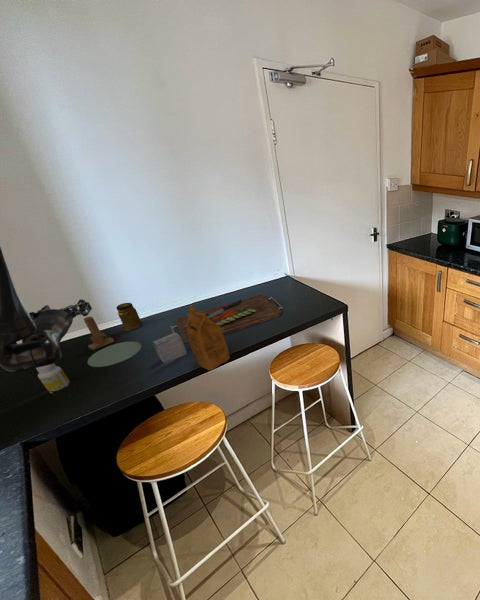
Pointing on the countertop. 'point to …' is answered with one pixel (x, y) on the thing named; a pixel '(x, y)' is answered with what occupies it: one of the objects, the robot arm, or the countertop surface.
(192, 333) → the coffee package
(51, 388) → the supplement bottle
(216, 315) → the chopping board
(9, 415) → the countertop surface
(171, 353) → the medicine box
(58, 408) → the countertop surface
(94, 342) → the reddish brown cube
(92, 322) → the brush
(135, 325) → the condiment
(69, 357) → the countertop surface
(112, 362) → the turntable plate
